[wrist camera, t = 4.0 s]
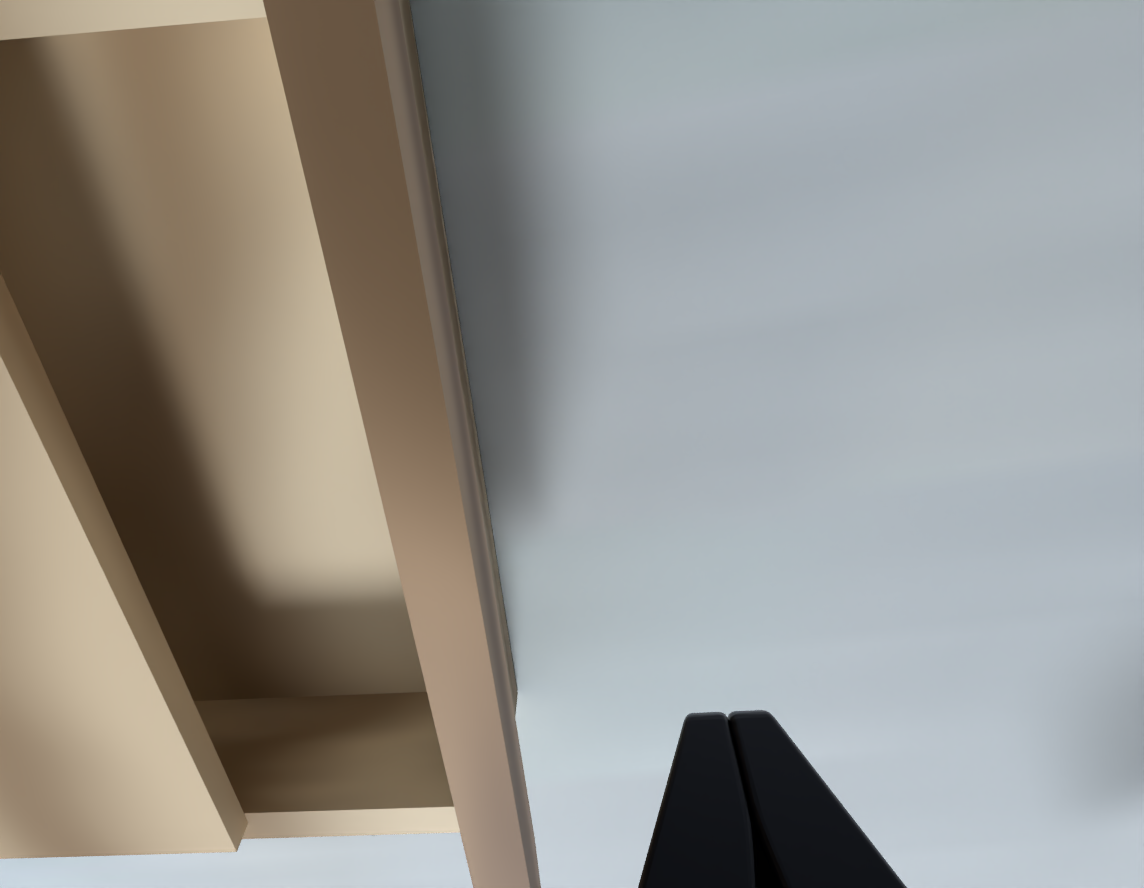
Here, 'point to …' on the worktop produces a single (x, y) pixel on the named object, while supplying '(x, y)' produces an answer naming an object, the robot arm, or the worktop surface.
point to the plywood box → (189, 459)
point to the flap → (409, 395)
